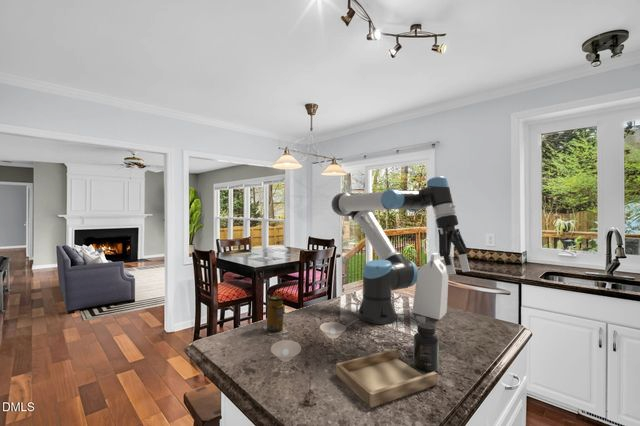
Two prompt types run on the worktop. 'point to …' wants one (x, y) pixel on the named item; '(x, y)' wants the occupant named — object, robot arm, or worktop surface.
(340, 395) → the worktop surface
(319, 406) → the worktop surface
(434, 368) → the supplement bottle
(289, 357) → the worktop surface
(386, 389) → the tray
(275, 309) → the condiment
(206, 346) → the worktop surface
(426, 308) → the milk
